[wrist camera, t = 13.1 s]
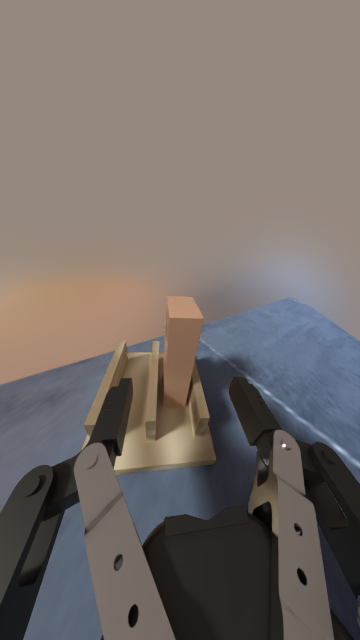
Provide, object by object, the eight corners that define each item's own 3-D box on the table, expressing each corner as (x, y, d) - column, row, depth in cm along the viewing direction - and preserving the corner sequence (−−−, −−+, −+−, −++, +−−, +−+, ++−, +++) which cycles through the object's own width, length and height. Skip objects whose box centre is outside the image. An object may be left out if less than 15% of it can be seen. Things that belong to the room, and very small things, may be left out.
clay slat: (180, 375, 24) (192, 297, 17) (184, 406, 19) (203, 318, 12) (162, 376, 23) (166, 295, 16) (162, 408, 19) (169, 317, 12)
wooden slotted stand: (190, 358, 29) (194, 334, 26) (213, 464, 16) (227, 441, 13) (119, 358, 28) (115, 333, 24) (76, 479, 14) (55, 456, 11)
